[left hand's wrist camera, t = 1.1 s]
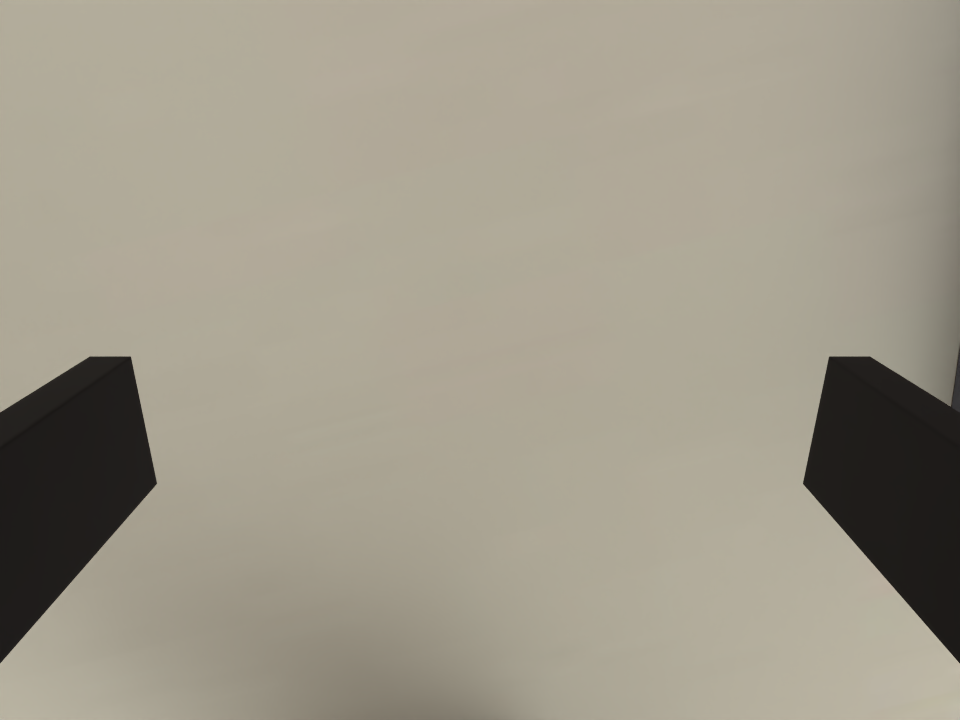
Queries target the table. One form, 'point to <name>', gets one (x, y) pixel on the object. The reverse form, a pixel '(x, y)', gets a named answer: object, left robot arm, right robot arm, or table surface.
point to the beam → (957, 389)
